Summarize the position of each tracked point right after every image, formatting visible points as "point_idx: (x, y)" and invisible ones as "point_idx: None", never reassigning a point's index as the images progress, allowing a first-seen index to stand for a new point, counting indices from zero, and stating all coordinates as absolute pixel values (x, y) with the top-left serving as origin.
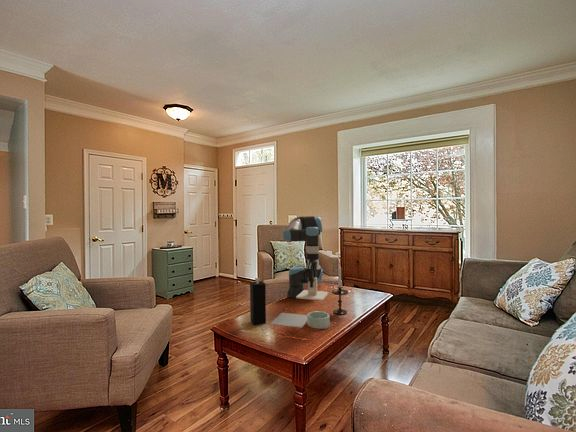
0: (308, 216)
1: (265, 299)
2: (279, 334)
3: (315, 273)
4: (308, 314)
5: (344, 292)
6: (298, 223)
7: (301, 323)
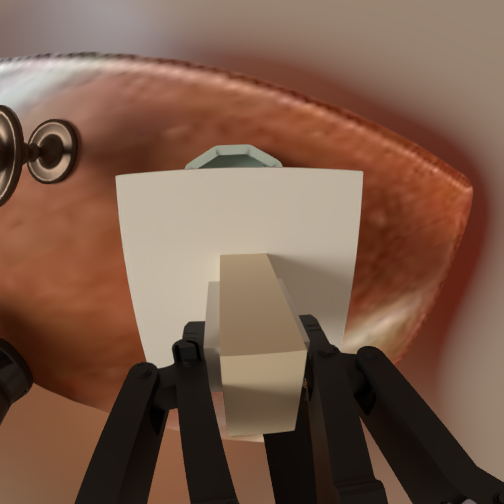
0: None
1: (311, 446)
2: (359, 308)
3: (202, 430)
4: None
5: None
6: None
7: None
